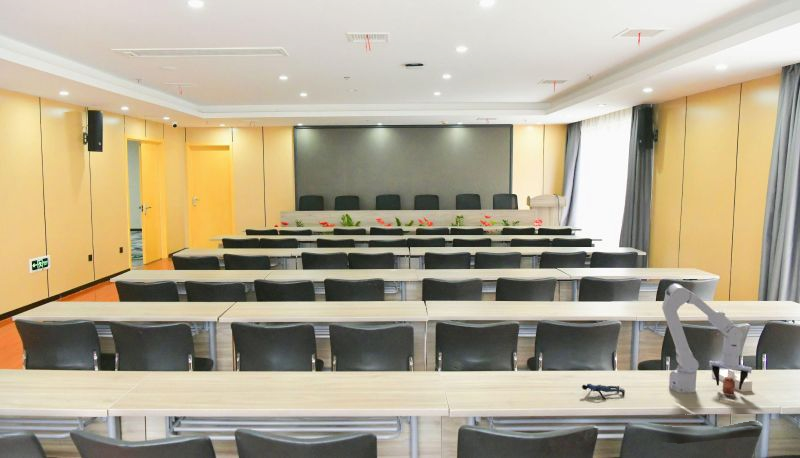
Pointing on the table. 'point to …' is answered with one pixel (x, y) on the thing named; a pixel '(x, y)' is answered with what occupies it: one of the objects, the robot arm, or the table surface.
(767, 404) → the table surface
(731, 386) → the pawn
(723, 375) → the bracket
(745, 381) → the die
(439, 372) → the table surface
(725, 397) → the board
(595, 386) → the person figurine
